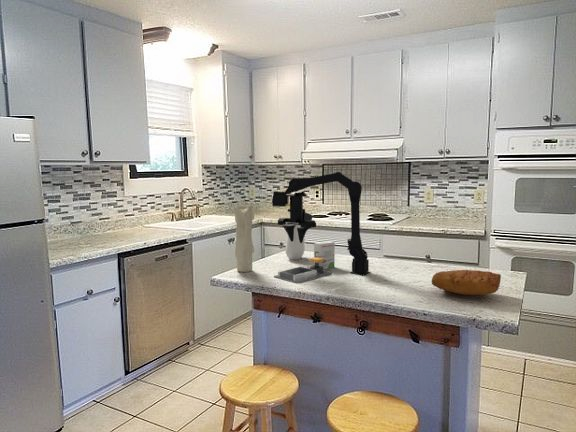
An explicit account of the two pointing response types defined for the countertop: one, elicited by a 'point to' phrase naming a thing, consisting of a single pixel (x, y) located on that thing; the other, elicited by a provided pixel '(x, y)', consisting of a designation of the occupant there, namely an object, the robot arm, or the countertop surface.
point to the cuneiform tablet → (467, 281)
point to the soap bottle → (294, 245)
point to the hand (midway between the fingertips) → (296, 242)
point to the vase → (244, 237)
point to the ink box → (325, 253)
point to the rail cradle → (302, 274)
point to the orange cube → (316, 260)
